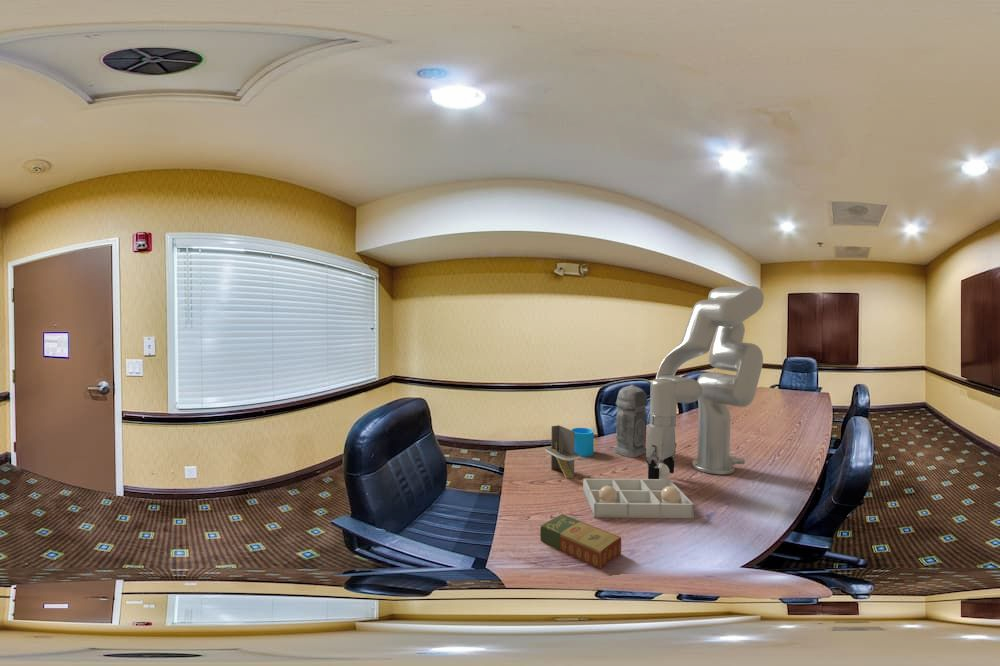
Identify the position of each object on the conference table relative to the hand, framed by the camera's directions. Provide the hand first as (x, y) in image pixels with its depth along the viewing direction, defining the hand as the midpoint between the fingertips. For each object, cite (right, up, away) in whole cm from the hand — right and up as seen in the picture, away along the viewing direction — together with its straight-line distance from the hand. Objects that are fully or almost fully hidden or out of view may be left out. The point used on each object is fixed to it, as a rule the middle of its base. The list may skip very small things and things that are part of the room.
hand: (661, 475), depth 138 cm
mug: (-21, -1, +26) cm, 33 cm away
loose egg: (0, -2, 0) cm, 2 cm away
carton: (-31, -5, -37) cm, 49 cm away
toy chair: (-29, -2, +7) cm, 30 cm away
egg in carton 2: (-5, -2, -19) cm, 20 cm away
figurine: (-2, 0, +28) cm, 28 cm away
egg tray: (-13, -3, -15) cm, 20 cm away
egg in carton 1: (-21, -2, -19) cm, 28 cm away
